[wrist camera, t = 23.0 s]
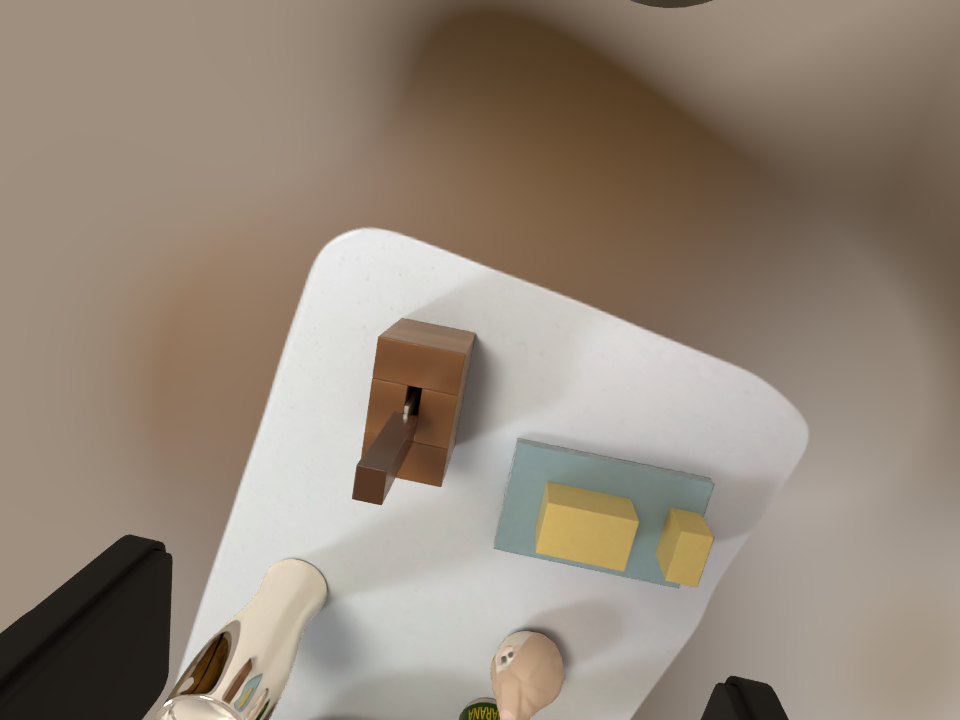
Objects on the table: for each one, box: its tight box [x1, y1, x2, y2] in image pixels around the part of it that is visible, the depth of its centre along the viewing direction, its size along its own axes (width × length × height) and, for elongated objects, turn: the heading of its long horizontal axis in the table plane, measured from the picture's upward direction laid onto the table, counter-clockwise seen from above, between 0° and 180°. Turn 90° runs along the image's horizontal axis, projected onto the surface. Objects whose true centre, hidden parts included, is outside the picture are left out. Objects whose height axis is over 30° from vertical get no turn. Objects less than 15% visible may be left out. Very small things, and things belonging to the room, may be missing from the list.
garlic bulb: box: [491, 631, 564, 720], centre depth 46 cm, size 7×6×8 cm
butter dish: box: [494, 438, 714, 588], centre depth 45 cm, size 10×16×1 cm, turn 79°
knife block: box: [361, 318, 475, 487], centre depth 41 cm, size 10×6×7 cm, turn 169°
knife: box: [352, 387, 423, 505], centre depth 36 cm, size 3×2×17 cm, turn 169°
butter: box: [535, 481, 639, 572], centre depth 43 cm, size 4×7×4 cm, turn 79°
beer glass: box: [155, 559, 327, 720], centre depth 43 cm, size 7×7×15 cm
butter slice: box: [655, 507, 714, 587], centre depth 43 cm, size 4×2×4 cm, turn 169°
